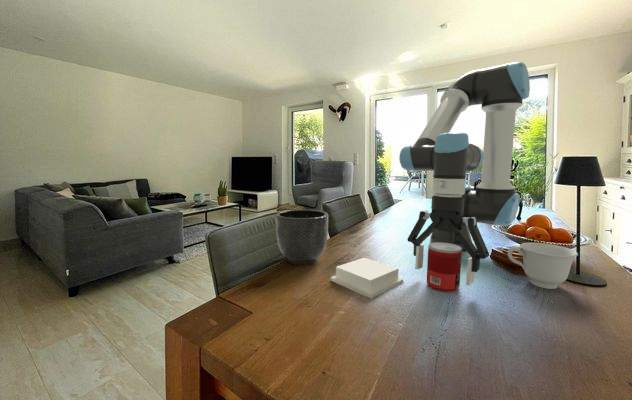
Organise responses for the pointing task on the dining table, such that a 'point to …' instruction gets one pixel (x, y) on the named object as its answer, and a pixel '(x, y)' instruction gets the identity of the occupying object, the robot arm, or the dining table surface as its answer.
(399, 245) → the dining table surface
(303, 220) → the planter
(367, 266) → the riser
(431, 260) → the canned food
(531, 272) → the teacup
